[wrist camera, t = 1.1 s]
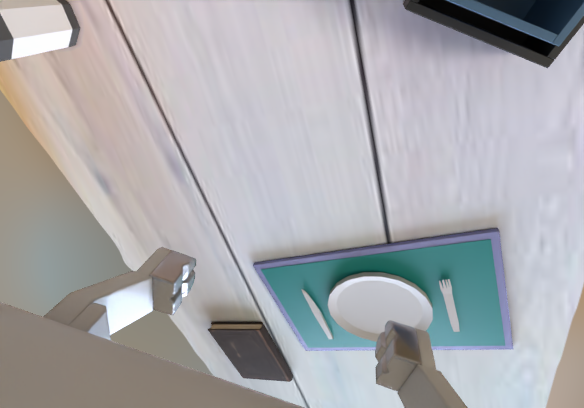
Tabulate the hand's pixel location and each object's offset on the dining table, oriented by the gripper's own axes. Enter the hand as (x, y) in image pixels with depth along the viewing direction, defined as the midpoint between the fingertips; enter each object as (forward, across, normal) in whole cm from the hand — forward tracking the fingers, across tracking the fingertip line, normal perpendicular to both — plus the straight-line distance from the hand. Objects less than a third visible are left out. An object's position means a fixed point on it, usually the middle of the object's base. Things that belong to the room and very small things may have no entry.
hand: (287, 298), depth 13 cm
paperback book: (+44, +5, +71) cm, 84 cm away
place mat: (+41, -18, +37) cm, 58 cm away
